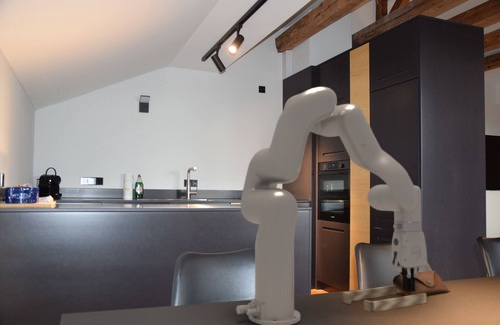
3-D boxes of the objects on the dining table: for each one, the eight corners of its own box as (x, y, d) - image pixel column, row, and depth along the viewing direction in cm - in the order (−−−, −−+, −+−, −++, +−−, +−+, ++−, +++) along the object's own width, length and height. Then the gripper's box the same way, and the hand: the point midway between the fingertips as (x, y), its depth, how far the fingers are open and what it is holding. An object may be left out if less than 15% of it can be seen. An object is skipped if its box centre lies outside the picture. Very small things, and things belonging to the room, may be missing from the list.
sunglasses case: (412, 299, 124) (410, 275, 125) (393, 296, 130) (391, 274, 131) (452, 292, 133) (449, 269, 134) (433, 290, 139) (430, 268, 140)
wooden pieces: (371, 312, 111) (371, 302, 111) (342, 301, 121) (342, 292, 122) (426, 302, 120) (426, 293, 121) (394, 293, 131) (394, 285, 131)
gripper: (399, 229, 119) (400, 297, 118) (436, 227, 126) (437, 290, 125) (379, 227, 126) (380, 290, 125) (415, 225, 133) (416, 285, 132)
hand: (409, 290), depth 125 cm, fingers closed
